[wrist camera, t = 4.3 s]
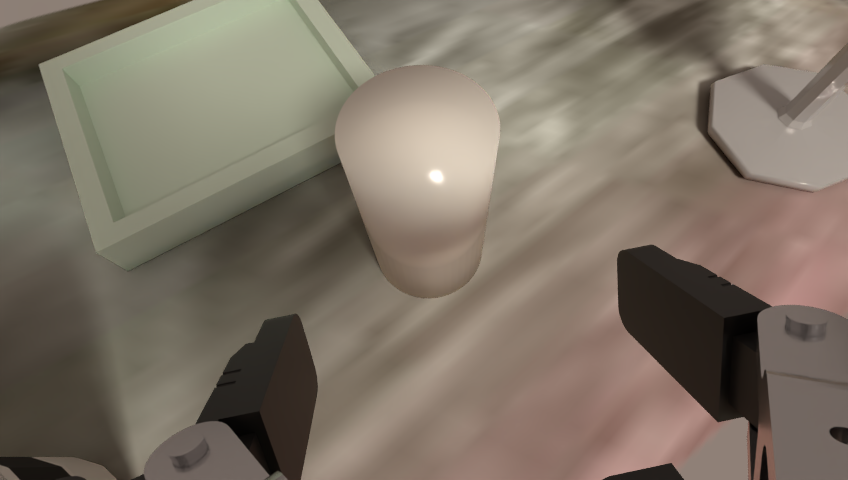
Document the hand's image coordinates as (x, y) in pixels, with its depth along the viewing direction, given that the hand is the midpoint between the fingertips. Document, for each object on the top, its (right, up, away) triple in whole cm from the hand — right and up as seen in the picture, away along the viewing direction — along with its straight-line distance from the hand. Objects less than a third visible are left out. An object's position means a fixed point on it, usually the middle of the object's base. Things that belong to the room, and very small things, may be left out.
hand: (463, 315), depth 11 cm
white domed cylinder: (-1, +1, +13) cm, 13 cm away
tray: (-14, +10, +18) cm, 25 cm away
